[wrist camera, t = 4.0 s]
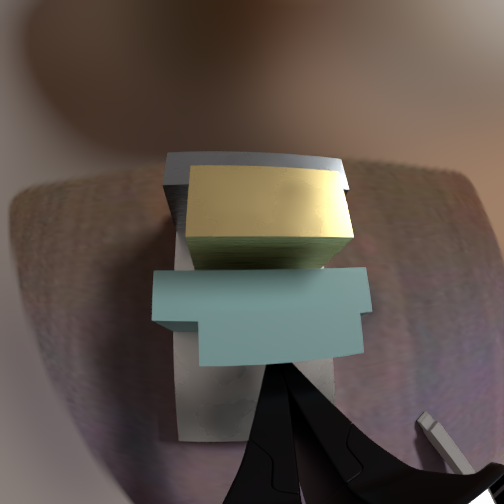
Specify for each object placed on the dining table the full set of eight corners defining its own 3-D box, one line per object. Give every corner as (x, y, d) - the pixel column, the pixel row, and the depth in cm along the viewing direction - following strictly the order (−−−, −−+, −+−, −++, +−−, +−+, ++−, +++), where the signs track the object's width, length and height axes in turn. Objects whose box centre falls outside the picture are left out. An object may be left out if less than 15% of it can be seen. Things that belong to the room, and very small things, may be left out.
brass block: (302, 285, 16) (353, 237, 10) (199, 287, 16) (185, 236, 9) (297, 238, 17) (338, 171, 11) (200, 238, 17) (190, 165, 10)
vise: (326, 423, 15) (378, 450, 9) (182, 434, 14) (161, 474, 8) (307, 209, 20) (338, 152, 14) (181, 208, 19) (168, 145, 13)
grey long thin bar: (475, 505, 11) (510, 514, 5) (469, 512, 10) (504, 523, 5) (422, 410, 15) (480, 416, 10) (413, 420, 15) (471, 430, 9)
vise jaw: (334, 352, 15) (411, 343, 8) (172, 360, 14) (131, 363, 7) (328, 291, 16) (395, 246, 9) (172, 295, 15) (136, 246, 8)
